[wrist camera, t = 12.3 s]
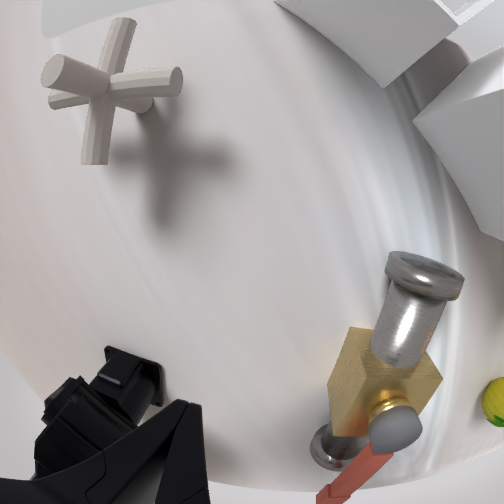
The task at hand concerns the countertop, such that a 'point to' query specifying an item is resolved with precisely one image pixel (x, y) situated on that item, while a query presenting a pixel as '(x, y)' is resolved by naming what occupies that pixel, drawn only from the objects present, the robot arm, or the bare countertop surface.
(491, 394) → the lemon
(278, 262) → the countertop surface
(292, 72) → the countertop surface
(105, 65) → the pipe connector
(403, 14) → the storage container
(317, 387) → the countertop surface
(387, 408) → the valve body
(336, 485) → the lever
